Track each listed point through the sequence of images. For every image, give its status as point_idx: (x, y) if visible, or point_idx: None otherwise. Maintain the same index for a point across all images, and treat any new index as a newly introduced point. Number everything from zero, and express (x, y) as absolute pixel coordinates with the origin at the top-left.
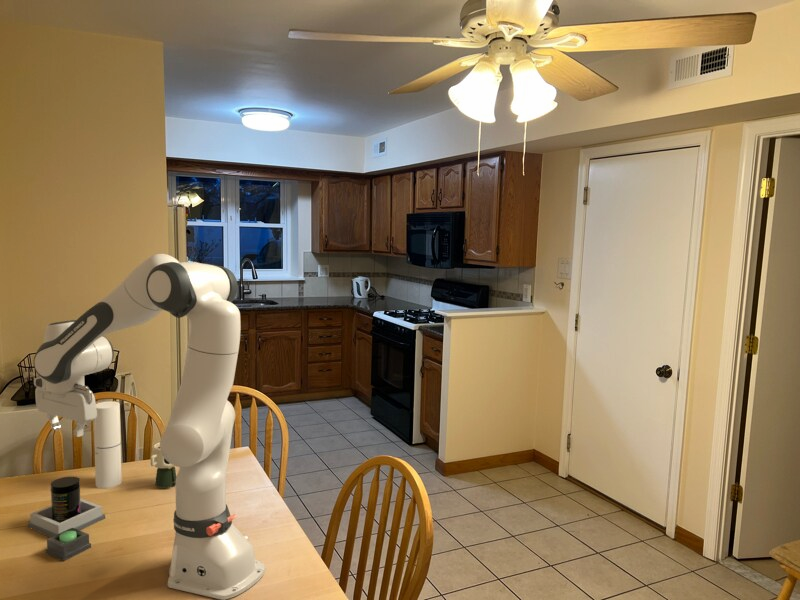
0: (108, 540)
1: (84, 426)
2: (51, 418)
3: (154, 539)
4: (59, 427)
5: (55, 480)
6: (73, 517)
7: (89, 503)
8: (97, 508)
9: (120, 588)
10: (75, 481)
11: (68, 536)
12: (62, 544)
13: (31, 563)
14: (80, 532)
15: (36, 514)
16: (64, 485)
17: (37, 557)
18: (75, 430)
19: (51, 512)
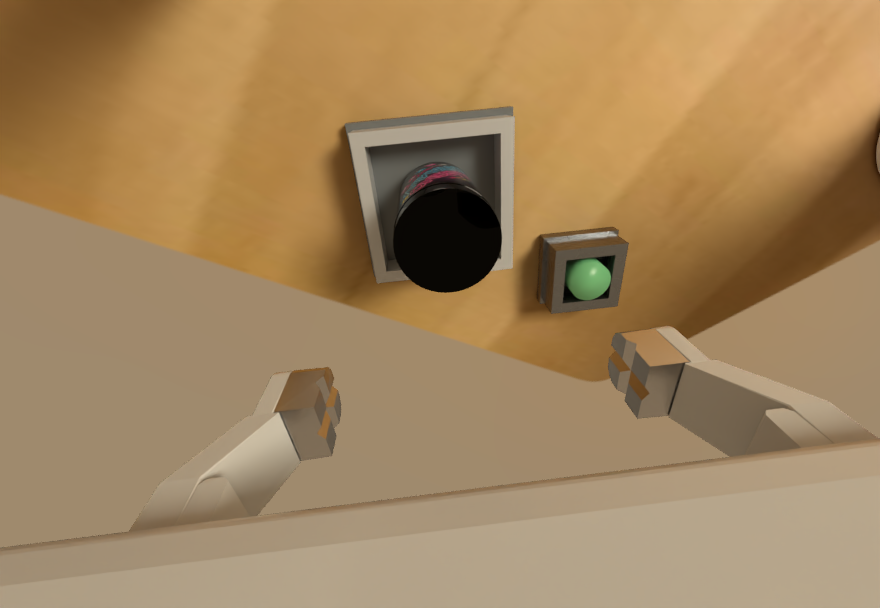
0: (627, 180)
1: (757, 378)
2: (253, 506)
3: (754, 91)
4: (326, 381)
5: (401, 261)
6: (503, 219)
7: (455, 132)
8: (513, 136)
9: (793, 271)
10: (480, 217)
11: (601, 286)
12: (607, 303)
13: (548, 330)
14: (600, 251)
15: (395, 274)
16: (479, 262)
17: (537, 314)
18: (670, 415)
19: (380, 221)
